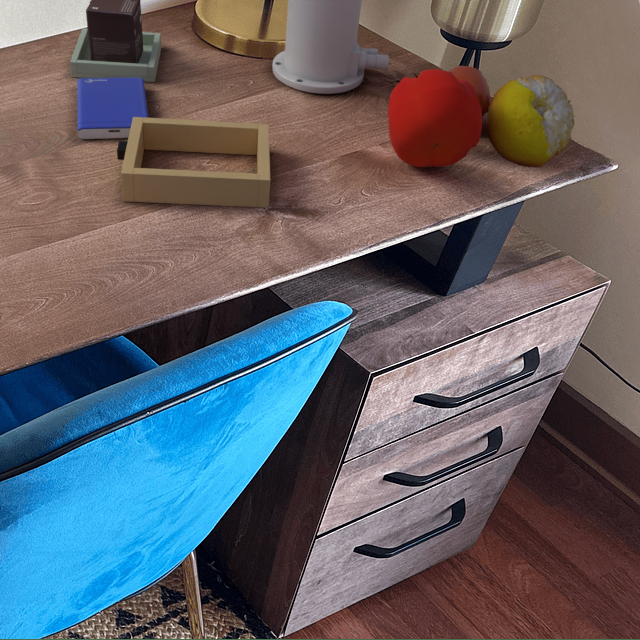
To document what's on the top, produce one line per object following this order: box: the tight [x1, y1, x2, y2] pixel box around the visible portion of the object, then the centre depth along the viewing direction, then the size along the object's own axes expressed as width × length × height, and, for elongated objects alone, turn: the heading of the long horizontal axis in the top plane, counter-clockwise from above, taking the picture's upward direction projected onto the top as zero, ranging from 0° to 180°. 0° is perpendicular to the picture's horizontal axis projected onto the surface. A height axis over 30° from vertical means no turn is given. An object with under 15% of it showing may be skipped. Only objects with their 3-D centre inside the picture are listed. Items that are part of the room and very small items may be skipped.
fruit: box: [485, 74, 576, 168], centre depth 99 cm, size 11×10×8 cm
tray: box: [69, 27, 162, 83], centre depth 111 cm, size 11×11×2 cm
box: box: [85, 0, 143, 64], centre depth 109 cm, size 6×6×7 cm
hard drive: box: [76, 78, 149, 140], centre depth 101 cm, size 2×8×12 cm
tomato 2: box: [447, 65, 491, 118], centre depth 106 cm, size 7×7×8 cm
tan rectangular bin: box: [116, 117, 271, 209], centre depth 92 cm, size 16×12×4 cm
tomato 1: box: [387, 68, 483, 168], centre depth 95 cm, size 11×12×9 cm
